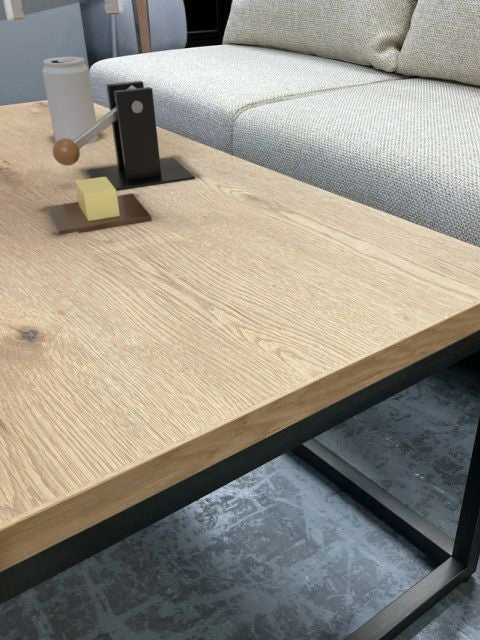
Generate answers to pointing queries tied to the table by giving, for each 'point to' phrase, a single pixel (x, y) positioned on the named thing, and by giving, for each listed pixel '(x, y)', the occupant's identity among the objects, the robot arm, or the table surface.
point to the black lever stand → (137, 142)
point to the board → (75, 221)
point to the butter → (97, 198)
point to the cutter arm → (82, 139)
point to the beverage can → (69, 96)
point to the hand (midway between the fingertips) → (66, 16)
